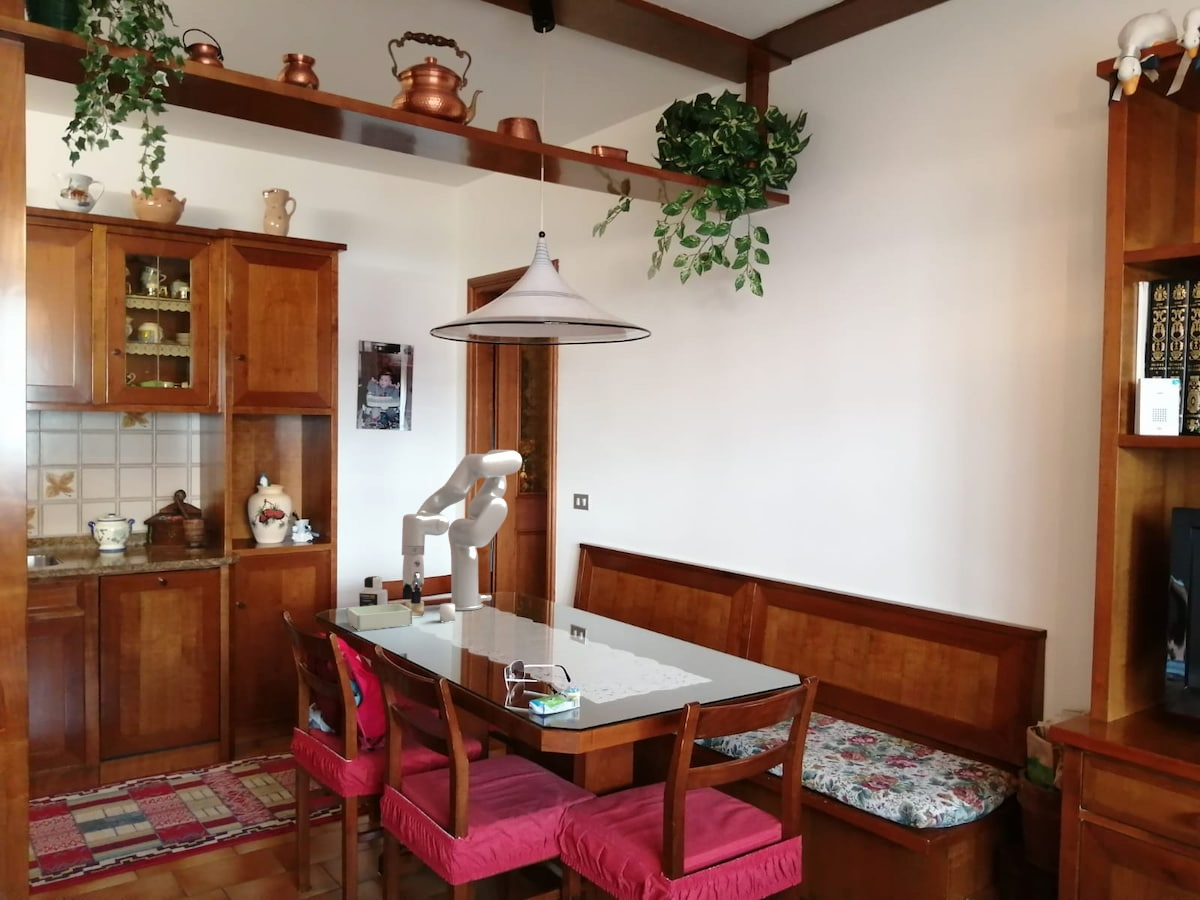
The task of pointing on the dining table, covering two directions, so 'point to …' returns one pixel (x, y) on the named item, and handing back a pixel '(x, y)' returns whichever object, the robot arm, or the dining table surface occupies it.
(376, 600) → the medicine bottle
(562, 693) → the dining table surface
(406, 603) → the beech cube
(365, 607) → the tote
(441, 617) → the white short cylinder
